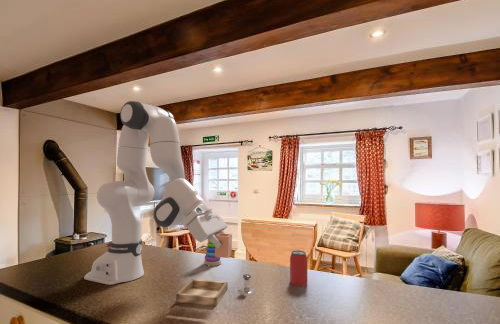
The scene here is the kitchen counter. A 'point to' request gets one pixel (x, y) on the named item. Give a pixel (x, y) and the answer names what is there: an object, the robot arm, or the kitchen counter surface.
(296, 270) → the beer can
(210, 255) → the stacking toy
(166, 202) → the robot arm
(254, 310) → the kitchen counter surface
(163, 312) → the kitchen counter surface
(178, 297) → the tray
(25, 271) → the kitchen counter surface
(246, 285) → the silver knob
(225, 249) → the collar
